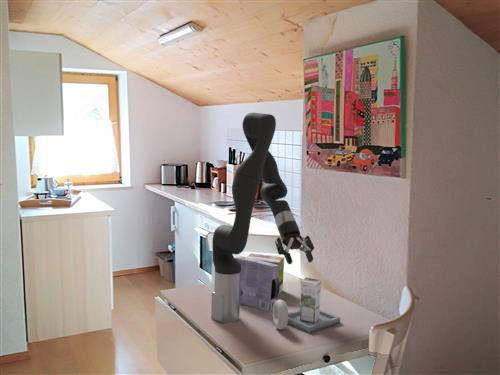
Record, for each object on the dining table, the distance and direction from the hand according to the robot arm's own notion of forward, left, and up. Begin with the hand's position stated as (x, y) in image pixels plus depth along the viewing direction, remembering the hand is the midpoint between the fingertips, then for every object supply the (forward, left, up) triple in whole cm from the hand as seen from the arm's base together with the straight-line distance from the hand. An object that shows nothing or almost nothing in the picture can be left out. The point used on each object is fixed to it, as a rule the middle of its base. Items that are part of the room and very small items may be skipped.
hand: (301, 262), depth 187 cm
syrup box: (-2, -7, -19) cm, 21 cm away
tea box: (+7, +27, -20) cm, 35 cm away
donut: (-15, -6, -20) cm, 26 cm away
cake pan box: (-7, +16, -20) cm, 27 cm away
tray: (-2, -8, -20) cm, 21 cm away
